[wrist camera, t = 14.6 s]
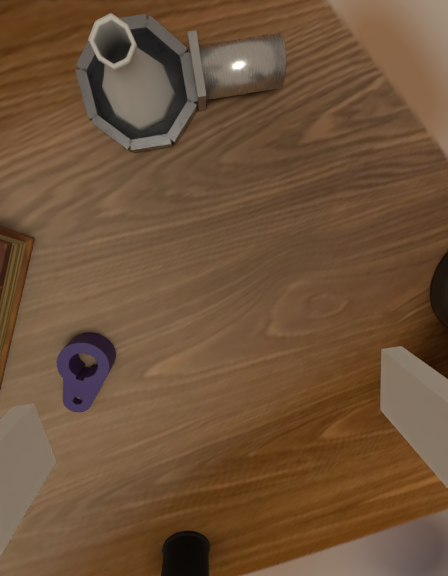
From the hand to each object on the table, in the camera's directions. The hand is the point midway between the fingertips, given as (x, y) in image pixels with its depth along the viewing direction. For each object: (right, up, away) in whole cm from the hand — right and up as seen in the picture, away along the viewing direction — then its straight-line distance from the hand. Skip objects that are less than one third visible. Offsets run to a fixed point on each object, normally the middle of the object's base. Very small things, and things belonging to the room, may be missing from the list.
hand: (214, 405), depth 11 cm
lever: (-19, -7, +29) cm, 35 cm away
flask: (-9, +25, +20) cm, 33 cm away
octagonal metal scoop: (-4, +26, +20) cm, 33 cm away
